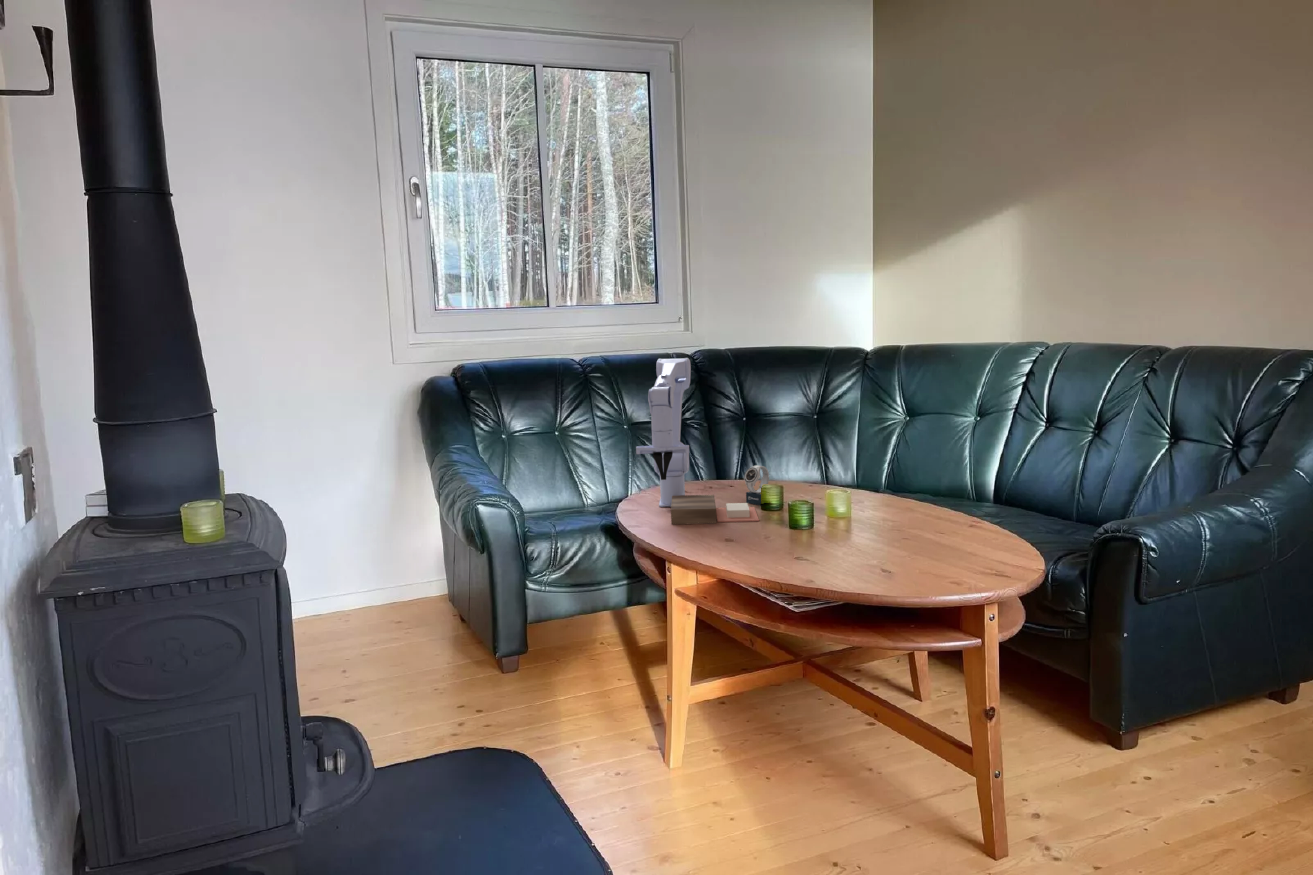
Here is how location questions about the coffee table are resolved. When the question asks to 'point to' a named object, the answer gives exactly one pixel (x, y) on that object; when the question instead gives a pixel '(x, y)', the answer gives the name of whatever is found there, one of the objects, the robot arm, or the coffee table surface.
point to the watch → (751, 479)
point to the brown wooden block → (693, 509)
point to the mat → (722, 517)
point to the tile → (737, 510)
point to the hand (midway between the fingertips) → (663, 479)
